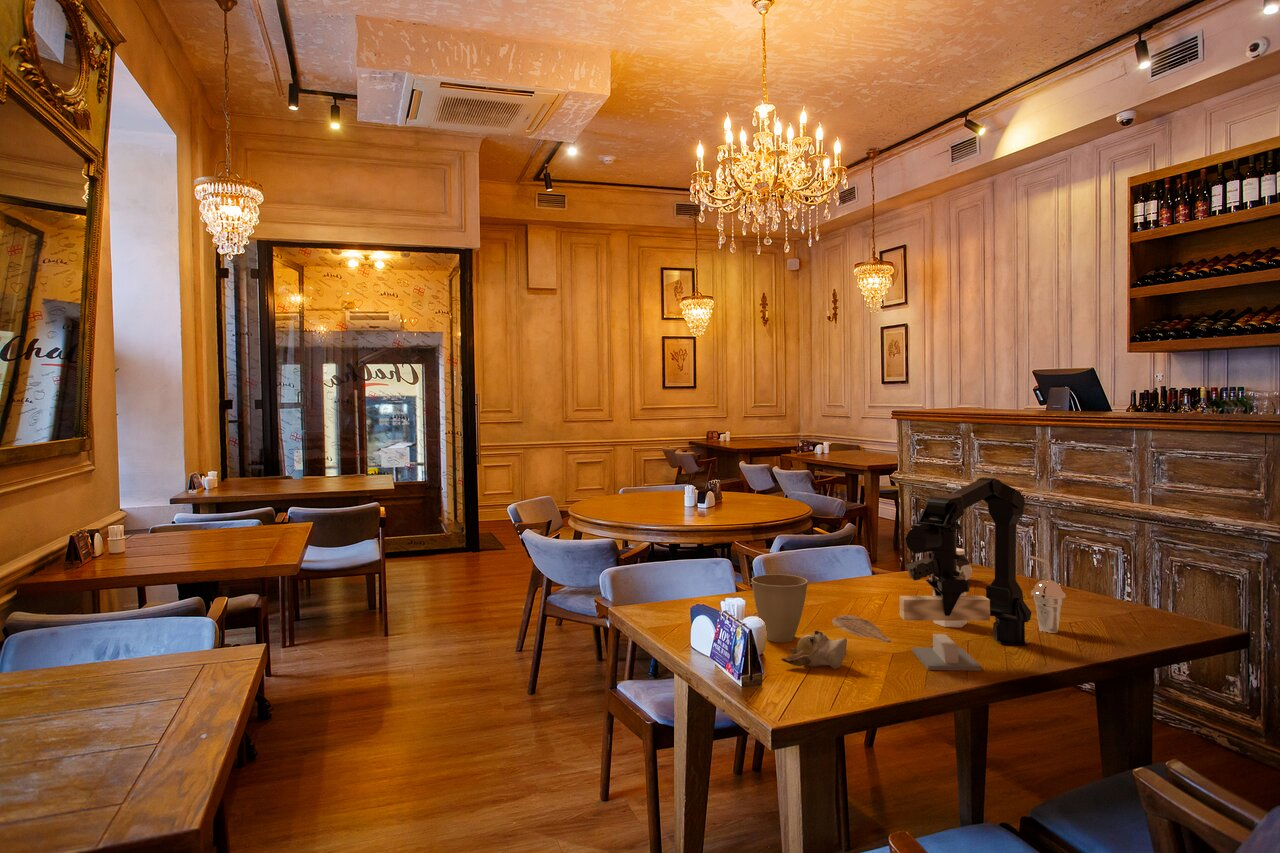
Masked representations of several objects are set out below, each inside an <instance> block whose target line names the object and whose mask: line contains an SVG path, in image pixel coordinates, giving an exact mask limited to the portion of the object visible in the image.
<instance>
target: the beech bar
mask: <svg viewBox="0 0 1280 853" xmlns="http://www.w3.org/2000/svg"><path fill="white" fill-rule="evenodd" d="M899 617H900V618H901V619H903V621H933V620H946V621H967V622H968V621H991V616H990V599H988V598H986V595H966V596H960V597H959V598H958V600H957V602H956V604H955V606H954V608H953V610H952V612H951V614H950V616H945V614H944V609H943V603H942V597H941V596H933V595H899Z"/></svg>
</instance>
